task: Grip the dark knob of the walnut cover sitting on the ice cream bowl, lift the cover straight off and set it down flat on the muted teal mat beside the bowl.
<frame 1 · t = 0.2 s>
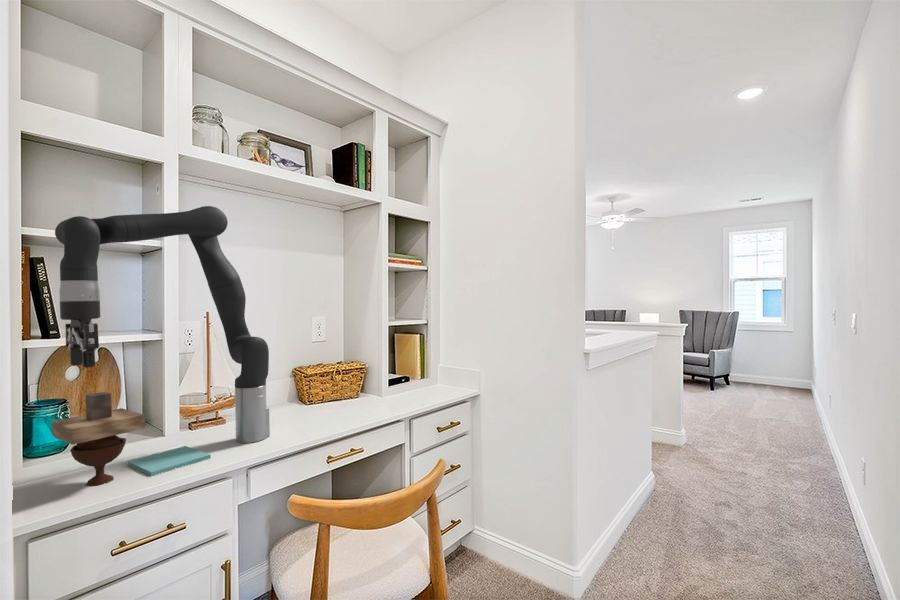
hand: (82, 366, 107), 30 cm above the table, tool pointing down, fingers open, 8 cm apart
walnut cover: (99, 431, 111), point 12 cm above the table, touching ice cream bowl
teal mat: (169, 461, 124), on the table
ice cream bowl: (100, 482, 111), on the table, touching walnut cover
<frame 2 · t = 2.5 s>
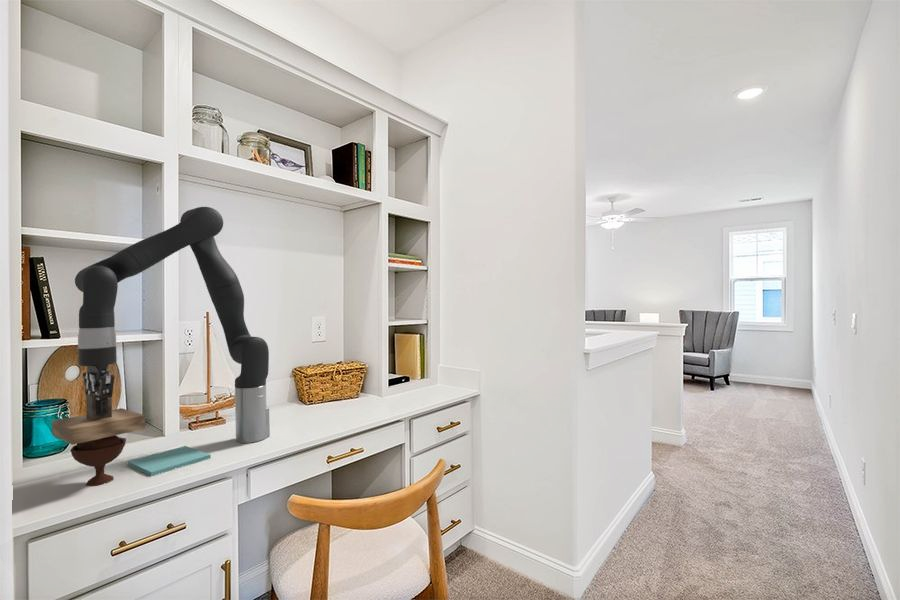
hand: (98, 413, 111), 17 cm above the table, tool pointing down, fingers closed on walnut cover, 4 cm apart
walnut cover: (99, 431, 111), point 12 cm above the table, touching gripper, ice cream bowl
everything else where it was.
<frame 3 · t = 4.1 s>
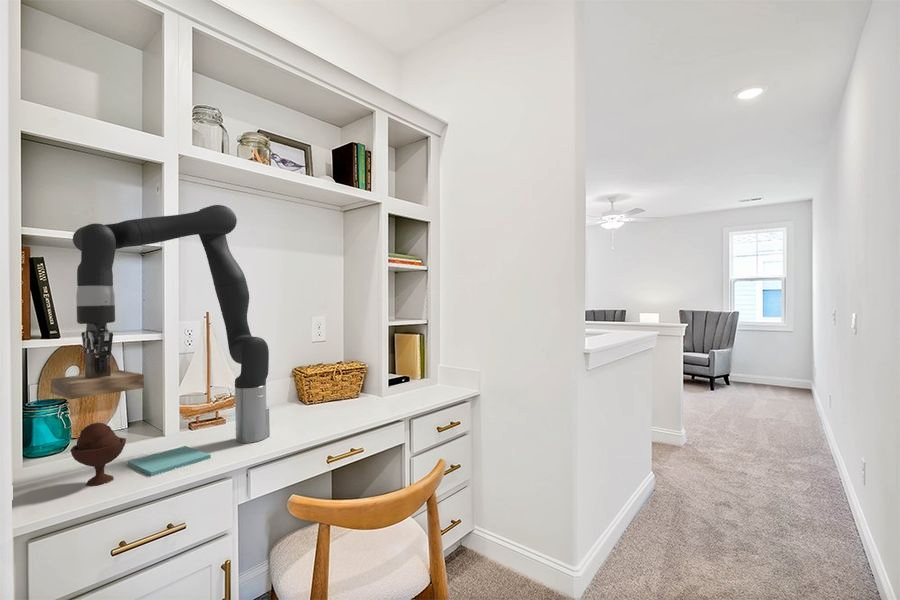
hand: (97, 372, 111), 27 cm above the table, tool pointing down, fingers closed on walnut cover, 4 cm apart
walnut cover: (98, 390, 111), point 23 cm above the table, touching gripper
ice cream bowl: (100, 482, 111), on the table
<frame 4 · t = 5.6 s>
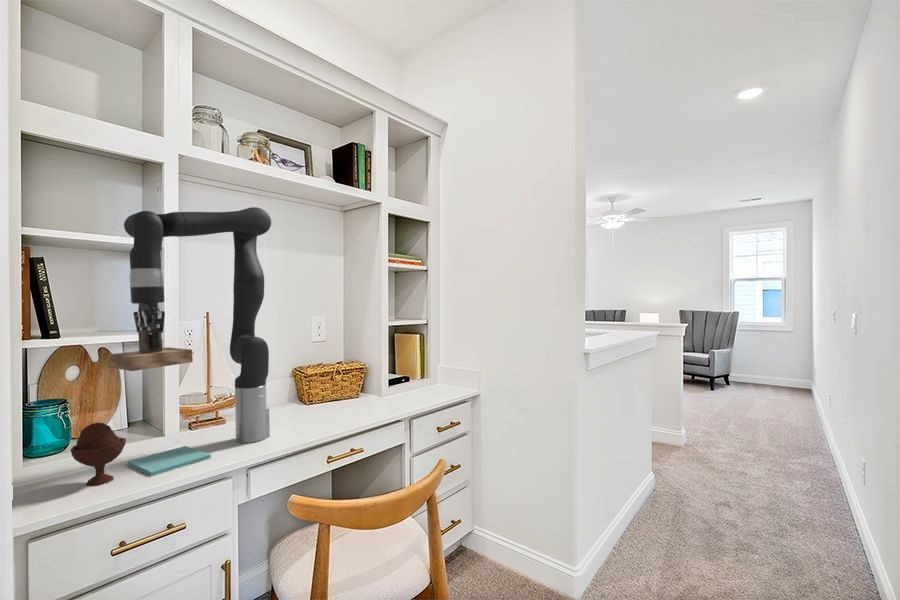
hand: (150, 348, 120), 32 cm above the table, tool pointing down, fingers closed on walnut cover, 4 cm apart
walnut cover: (151, 364, 120), point 28 cm above the table, touching gripper
everything else where it was.
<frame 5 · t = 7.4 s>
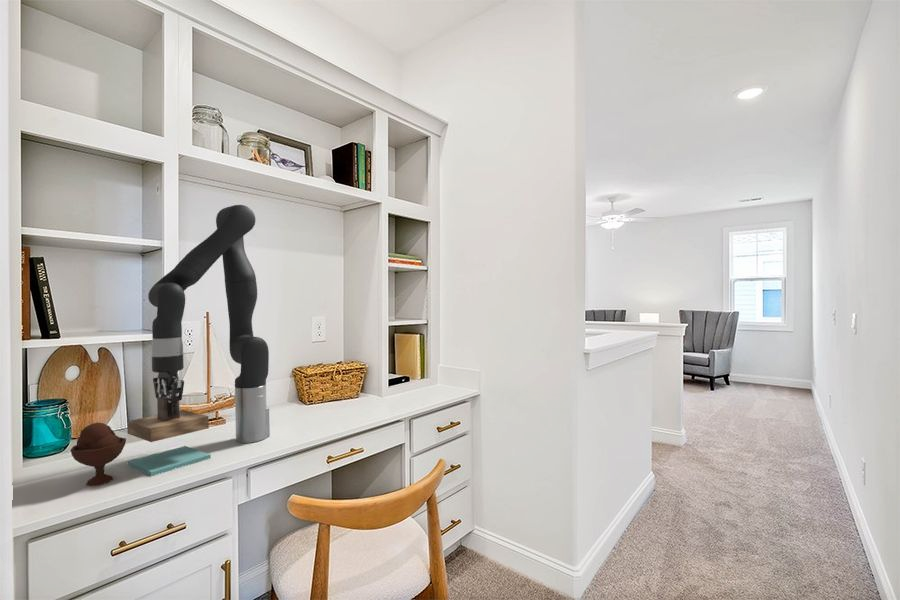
hand: (168, 414, 124), 13 cm above the table, tool pointing down, fingers closed on walnut cover, 4 cm apart
walnut cover: (168, 430, 124), point 9 cm above the table, touching gripper
everything else where it was.
when the fingers open (7 cm above the table, at t = 8.8 s): walnut cover drops 1 cm, resting on teal mat.
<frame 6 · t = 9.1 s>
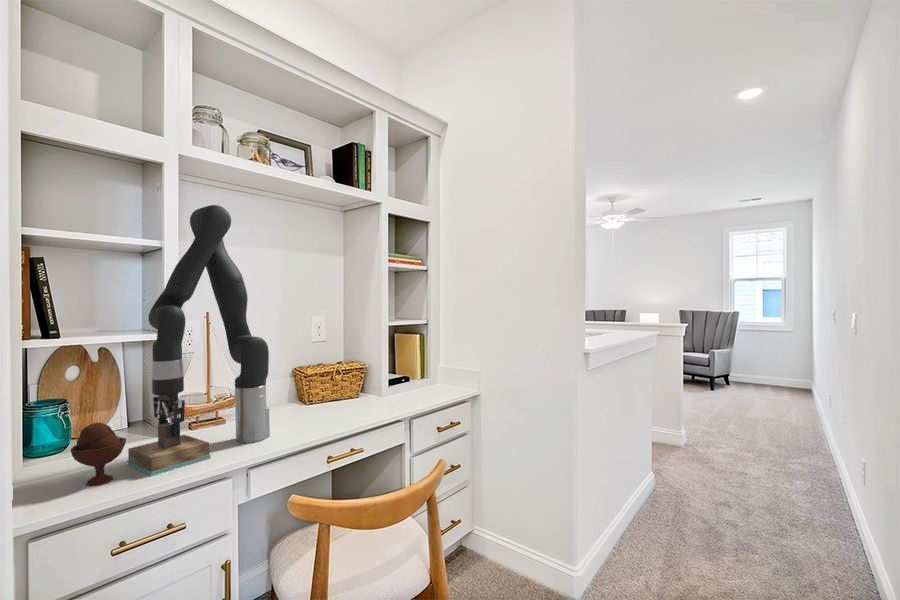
hand: (169, 435, 124), 7 cm above the table, tool pointing down, fingers open, 6 cm apart
walnut cover: (169, 457, 124), point 1 cm above the table, touching teal mat
everything else where it was.
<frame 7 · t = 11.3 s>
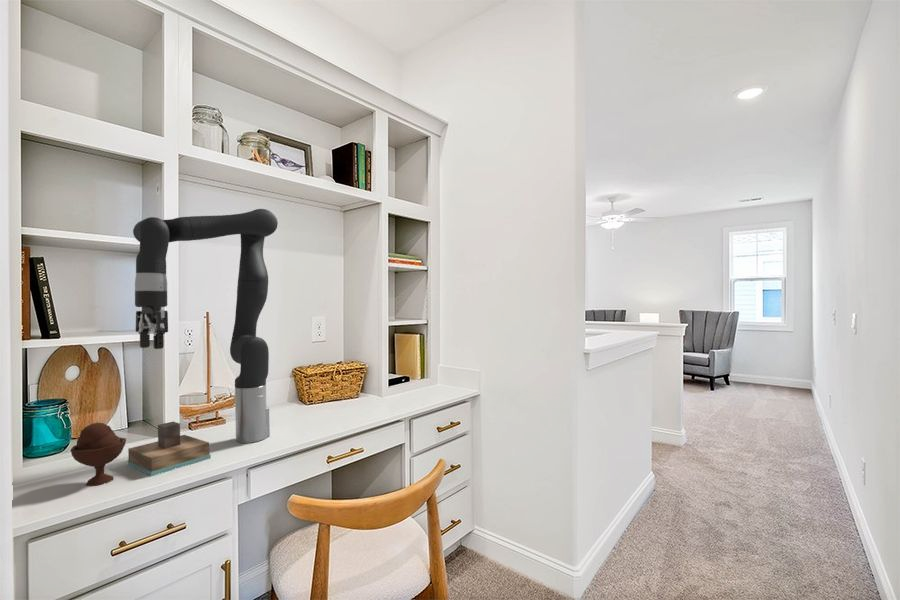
hand: (151, 348, 123), 32 cm above the table, tool pointing down, fingers open, 8 cm apart
nothing on the table moved.
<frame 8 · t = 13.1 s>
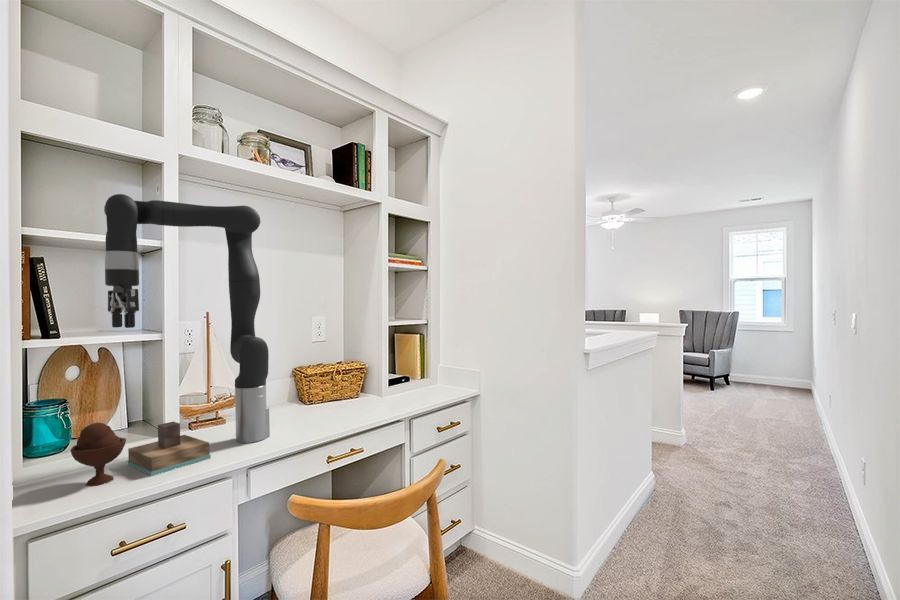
hand: (123, 327, 121), 38 cm above the table, tool pointing down, fingers open, 8 cm apart
nothing on the table moved.
at the end: walnut cover inside the target area on the teal mat (0.0 cm from its centre), point 1.0 cm above the teal mat's base; walnut cover touching teal mat; ice cream bowl moved 0.2 cm from its start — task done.
